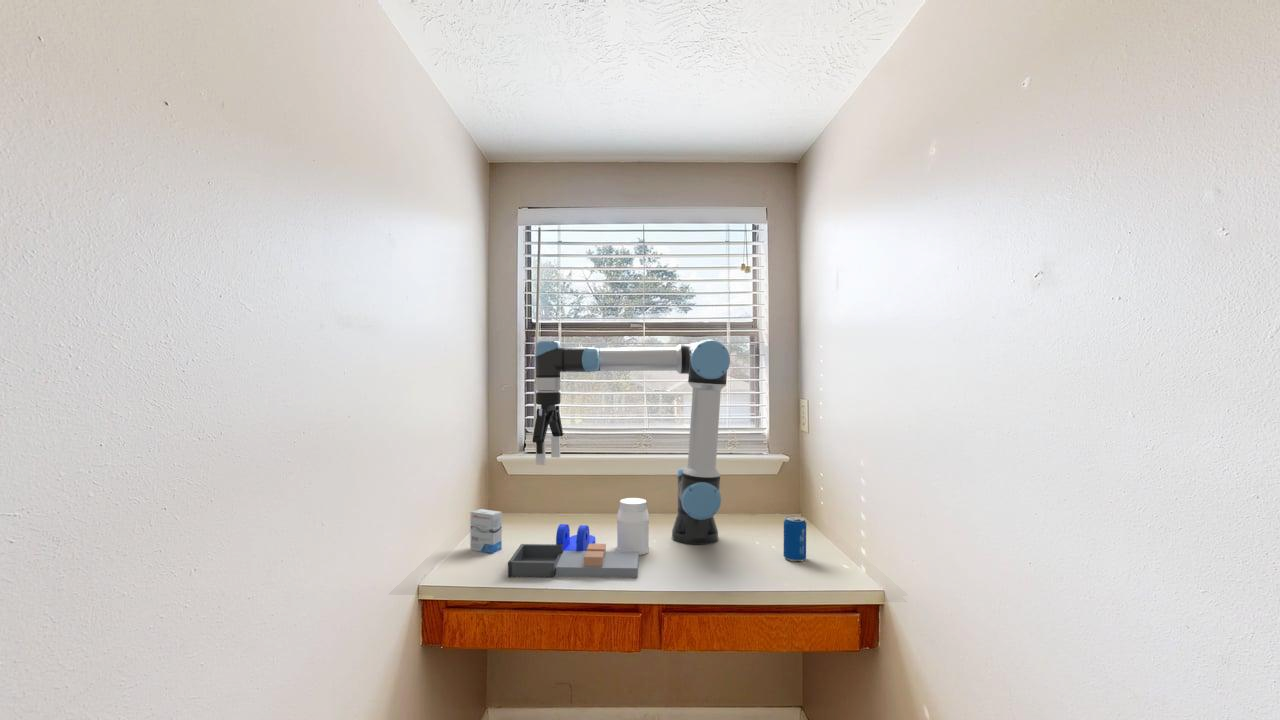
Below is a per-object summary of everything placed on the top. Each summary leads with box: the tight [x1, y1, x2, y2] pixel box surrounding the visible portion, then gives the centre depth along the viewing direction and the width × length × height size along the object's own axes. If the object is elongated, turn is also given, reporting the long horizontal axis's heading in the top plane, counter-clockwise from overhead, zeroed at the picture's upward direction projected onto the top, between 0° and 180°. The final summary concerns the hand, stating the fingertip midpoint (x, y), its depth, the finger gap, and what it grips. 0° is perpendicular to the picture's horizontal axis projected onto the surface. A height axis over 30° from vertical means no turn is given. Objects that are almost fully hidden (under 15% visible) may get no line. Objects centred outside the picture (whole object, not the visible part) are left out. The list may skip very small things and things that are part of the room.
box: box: [507, 543, 563, 579], centre depth 170 cm, size 12×16×4 cm
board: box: [555, 550, 640, 578], centre depth 170 cm, size 22×14×2 cm, turn 89°
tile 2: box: [584, 551, 604, 567], centre depth 167 cm, size 5×5×2 cm
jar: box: [616, 497, 650, 556], centre depth 187 cm, size 12×10×15 cm
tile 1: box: [587, 543, 607, 558], centre depth 174 cm, size 5×5×2 cm
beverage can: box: [783, 515, 807, 562], centre depth 179 cm, size 6×6×12 cm
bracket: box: [555, 523, 596, 551], centre depth 187 cm, size 18×8×9 cm, turn 170°
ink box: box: [469, 508, 503, 554], centre depth 186 cm, size 8×5×12 cm, turn 65°
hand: (548, 460), depth 186 cm, fingers open, 13 cm apart
